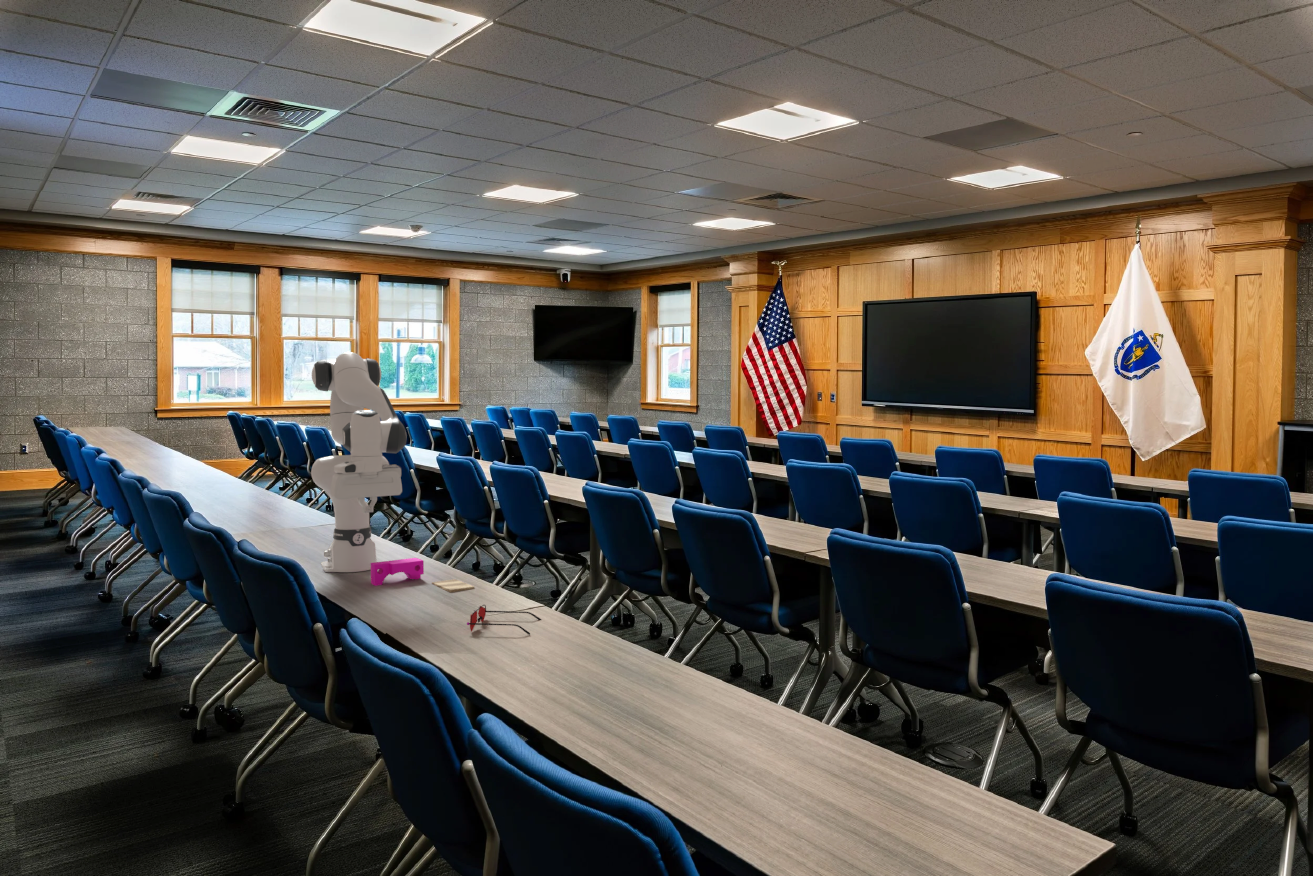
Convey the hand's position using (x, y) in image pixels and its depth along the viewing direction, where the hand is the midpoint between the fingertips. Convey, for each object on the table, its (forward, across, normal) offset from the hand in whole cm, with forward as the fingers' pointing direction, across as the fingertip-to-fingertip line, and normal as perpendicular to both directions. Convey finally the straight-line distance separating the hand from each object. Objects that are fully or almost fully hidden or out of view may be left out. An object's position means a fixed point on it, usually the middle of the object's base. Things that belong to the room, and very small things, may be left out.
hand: (367, 512), depth 262 cm
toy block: (+18, -15, -16) cm, 29 cm away
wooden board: (+26, -26, 0) cm, 37 cm away
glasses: (+27, -18, +51) cm, 60 cm away
